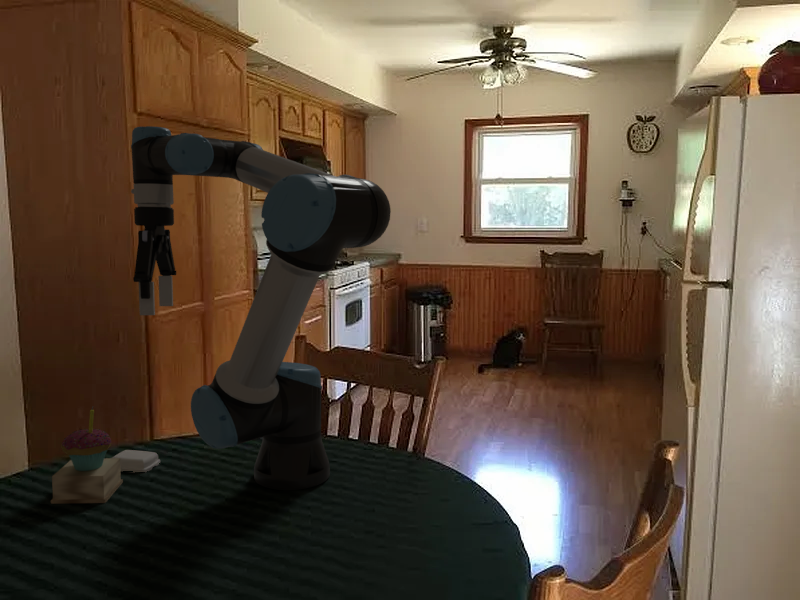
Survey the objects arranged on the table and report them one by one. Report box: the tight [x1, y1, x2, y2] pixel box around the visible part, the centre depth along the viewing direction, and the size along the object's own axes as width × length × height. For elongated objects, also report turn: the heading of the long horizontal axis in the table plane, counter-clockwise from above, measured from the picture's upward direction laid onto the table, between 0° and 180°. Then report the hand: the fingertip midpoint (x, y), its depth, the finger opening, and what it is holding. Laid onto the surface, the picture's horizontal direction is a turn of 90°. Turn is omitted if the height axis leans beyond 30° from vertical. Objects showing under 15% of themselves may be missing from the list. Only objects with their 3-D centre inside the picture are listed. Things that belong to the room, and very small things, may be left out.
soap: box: [111, 449, 161, 473], centre depth 142 cm, size 9×7×3 cm
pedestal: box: [50, 457, 124, 505], centre depth 128 cm, size 10×10×5 cm
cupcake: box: [60, 406, 112, 471], centre depth 127 cm, size 9×8×12 cm
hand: (157, 310), depth 140 cm, fingers open, 13 cm apart
